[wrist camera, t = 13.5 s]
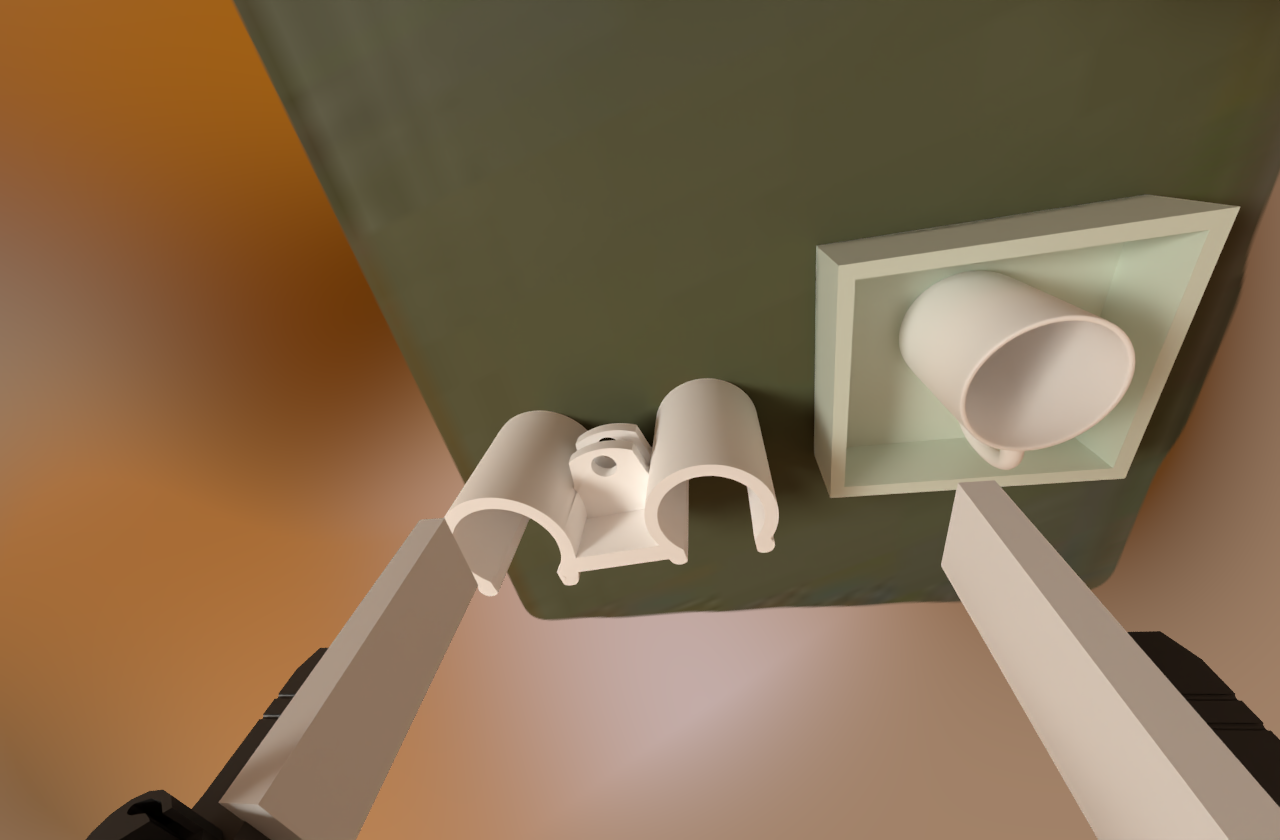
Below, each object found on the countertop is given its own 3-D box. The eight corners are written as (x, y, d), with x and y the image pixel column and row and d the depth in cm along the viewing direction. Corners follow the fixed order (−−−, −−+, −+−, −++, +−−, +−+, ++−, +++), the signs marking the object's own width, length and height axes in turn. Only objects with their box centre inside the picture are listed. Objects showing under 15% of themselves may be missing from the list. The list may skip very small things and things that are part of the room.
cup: (1029, 254, 32) (1156, 299, 23) (1007, 407, 37) (1101, 490, 29) (895, 282, 33) (966, 334, 25) (894, 424, 39) (951, 507, 30)
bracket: (745, 359, 38) (764, 442, 28) (765, 455, 43) (788, 556, 33) (478, 422, 44) (412, 510, 34) (521, 501, 49) (474, 599, 38)
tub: (816, 245, 33) (838, 265, 28) (1146, 194, 30) (1240, 206, 25) (813, 454, 42) (830, 498, 37) (1067, 433, 39) (1125, 478, 34)
